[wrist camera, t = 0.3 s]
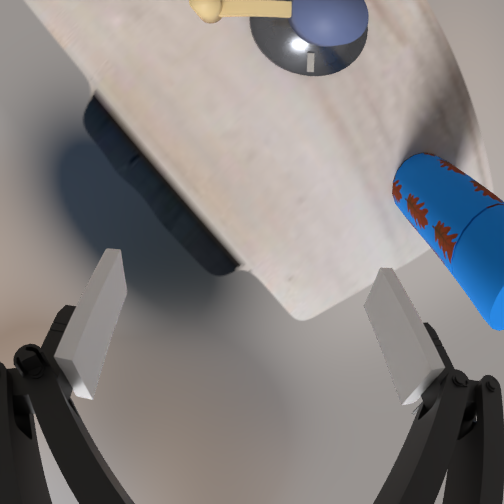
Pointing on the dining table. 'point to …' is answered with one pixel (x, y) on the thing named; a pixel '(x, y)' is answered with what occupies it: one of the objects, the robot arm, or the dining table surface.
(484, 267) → the thermos
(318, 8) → the blue crank handle
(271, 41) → the post base
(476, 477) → the robot arm
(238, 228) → the dining table surface
